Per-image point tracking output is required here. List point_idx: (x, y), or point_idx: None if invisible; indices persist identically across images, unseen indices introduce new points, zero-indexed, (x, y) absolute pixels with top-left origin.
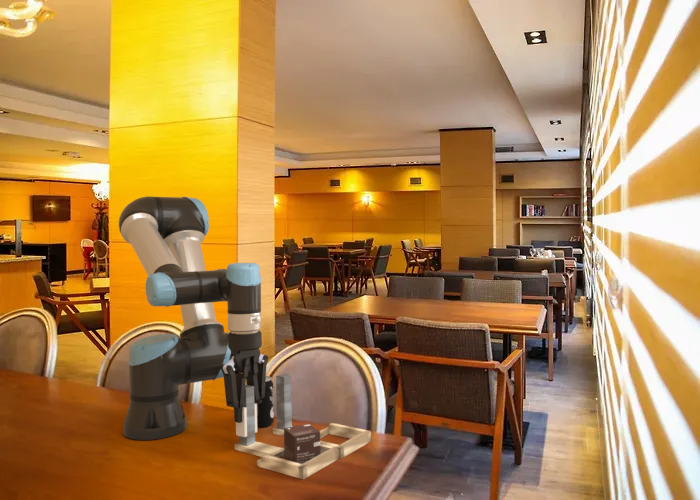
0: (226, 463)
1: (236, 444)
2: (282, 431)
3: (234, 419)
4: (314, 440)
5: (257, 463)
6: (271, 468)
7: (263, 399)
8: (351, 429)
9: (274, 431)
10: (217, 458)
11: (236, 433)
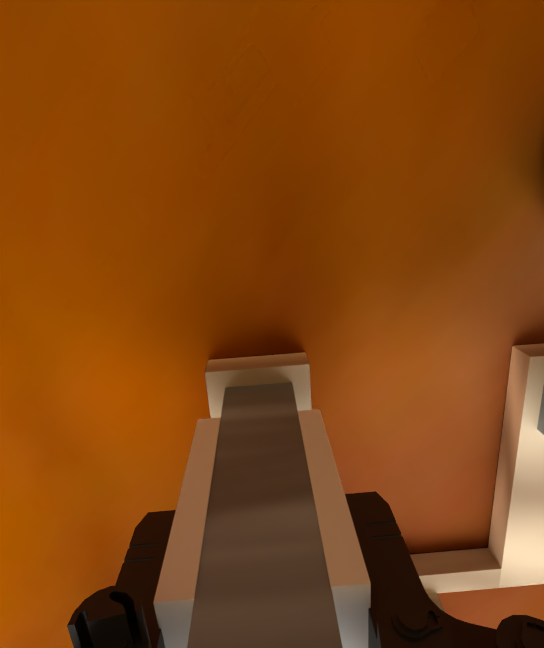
0: (70, 458)
1: (211, 383)
2: (518, 425)
3: (133, 536)
4: None
5: None
6: None
7: None
8: None
9: (519, 362)
10: (72, 380)
11: (197, 427)
